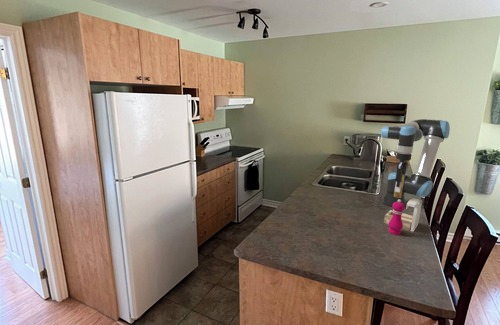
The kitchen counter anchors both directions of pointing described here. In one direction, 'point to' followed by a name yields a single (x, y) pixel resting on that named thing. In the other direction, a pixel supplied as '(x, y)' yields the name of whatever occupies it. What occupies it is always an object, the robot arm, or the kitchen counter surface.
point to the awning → (415, 211)
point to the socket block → (404, 217)
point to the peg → (397, 194)
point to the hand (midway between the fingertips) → (398, 190)
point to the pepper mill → (396, 218)
